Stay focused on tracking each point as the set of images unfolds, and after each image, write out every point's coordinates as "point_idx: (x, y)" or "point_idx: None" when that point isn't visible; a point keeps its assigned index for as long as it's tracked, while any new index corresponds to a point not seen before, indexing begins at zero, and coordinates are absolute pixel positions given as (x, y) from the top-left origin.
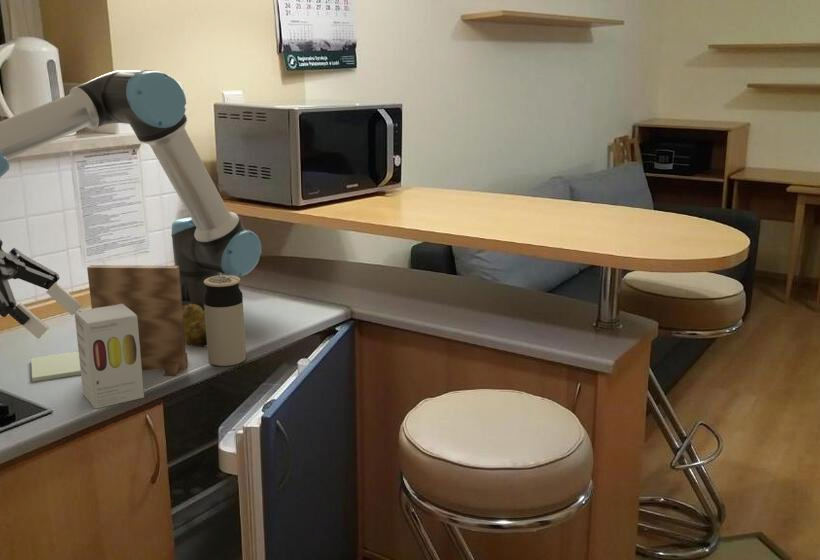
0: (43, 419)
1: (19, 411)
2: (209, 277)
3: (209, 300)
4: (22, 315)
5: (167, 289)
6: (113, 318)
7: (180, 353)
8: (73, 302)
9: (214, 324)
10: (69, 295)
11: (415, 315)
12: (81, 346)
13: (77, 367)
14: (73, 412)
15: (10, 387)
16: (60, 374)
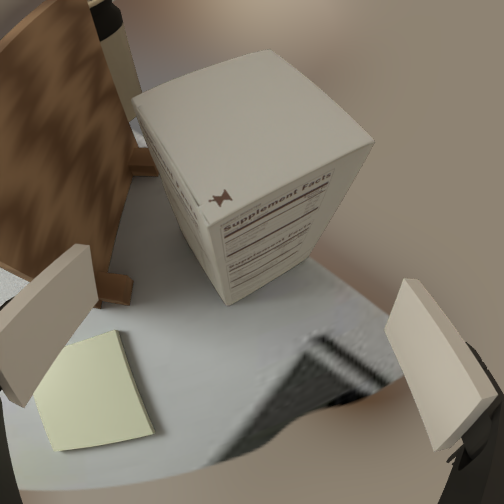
0: (349, 339)
1: (312, 403)
2: None
3: (105, 27)
4: (479, 363)
5: (82, 38)
6: (313, 83)
7: (130, 135)
8: (74, 270)
9: (121, 59)
10: (46, 279)
11: None
12: (280, 240)
13: (100, 350)
14: (320, 294)
15: (184, 465)
16: (131, 380)
